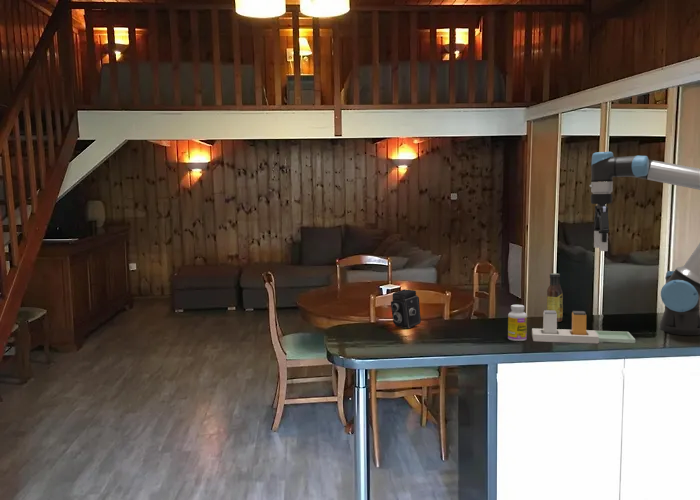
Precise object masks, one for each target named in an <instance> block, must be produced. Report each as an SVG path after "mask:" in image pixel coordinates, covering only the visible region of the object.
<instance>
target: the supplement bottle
mask: <svg viewBox="0 0 700 500" xmlns="http://www.w3.org/2000/svg"><path fill="white" fill-rule="evenodd" d="M510 309H511V311H509V313H508V315H507V317H508V318H507V339H508V340H510V341H513V342H515V341H516V342H518V341H519V342H522V341H527V338H528V337H527V335H528V333H527V332H528V330H527V329H528V328H527V327H528V315H527V313H526V312H525V311H524V310H525V305H523V304H512V305H510Z"/></svg>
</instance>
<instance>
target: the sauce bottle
mask: <svg viewBox="0 0 700 500" xmlns="http://www.w3.org/2000/svg"><path fill="white" fill-rule="evenodd" d="M560 277H561V273H557V272H556V273H549V286H548V288H547V290H546V293H547V294H546V310H553V311H556V313H557V323H560V322H562V321H563V317H564V316H563V313H564V311H563V310H564V304H563V302H564V300H563V299H564V295H563V293H564V292H563V290H562V287H561V283H560Z"/></svg>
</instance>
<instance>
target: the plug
mask: <svg viewBox="0 0 700 500" xmlns="http://www.w3.org/2000/svg"><path fill="white" fill-rule="evenodd" d="M571 330H572V335H586V330H587V314H586V311H584V310H572V312H571Z"/></svg>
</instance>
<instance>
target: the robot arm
mask: <svg viewBox="0 0 700 500" xmlns="http://www.w3.org/2000/svg"><path fill="white" fill-rule="evenodd" d="M590 169H591V171H590V172H591V173H590V174H591V175H590V176H591V178H590V179H591V182H590V184H589V188H590V191H591V193H592V194H590V204H592V205H594V219H593V227H592V229H593V230H594V231H593V248H599V252H608V249H609V248H608V245H609V244H608V243H609V233H610V223H609V221H610V220H609V206H607V204H609V205H610V204H612V203H613V194H612V193H613V190H614V189H613V187H614V185H613V184H614V181H613V178H624V177H625V178H630V177H631V178H637V179H641V180H648V181H654V182H658V183H664V184H668V185H674V186H678V187H684V188H689V189H694V190H698V191H700V168H698V167H693V166H687V165H681V164H676V163H670V162H666V161H665V162H664V161H660V160H659V161H658V160H653V159H649V157H648V156H647V155H628V156H627V155H625V156H614V153H613V152H612V151H598V152H597V151H596V152H594V153H592V156H591V165H590ZM664 278H665V284H663V285H662V287H661V289H660V298H661V302H662V303H663V305H664V310H663V314H662V316H661V319H660V321H659V330H660V331H663V332H664V333H666V334H671V335H679V336H700V242H699V243H698V244H697V246H696V247H695V248H694V250H693V252H692V254H691V255H690V256H689V258H688V259H687V261H686V262H685V264H684V265H682V266H678V267H676V268H675V269H674V270H668V271H666V273H665V277H664Z"/></svg>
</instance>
